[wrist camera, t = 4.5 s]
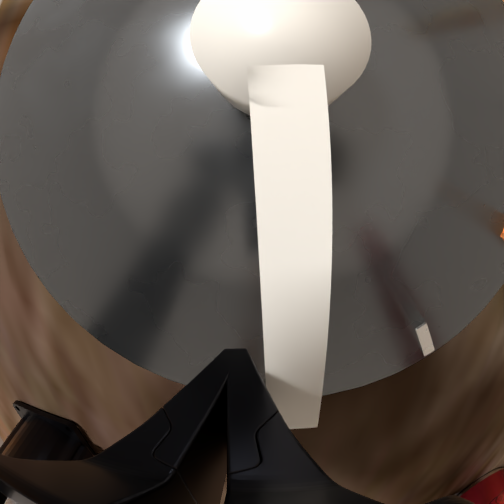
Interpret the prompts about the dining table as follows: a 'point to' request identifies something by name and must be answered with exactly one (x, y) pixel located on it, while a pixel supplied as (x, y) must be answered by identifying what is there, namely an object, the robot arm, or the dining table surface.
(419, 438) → the dining table surface
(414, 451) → the dining table surface
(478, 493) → the soda can
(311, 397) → the dial pointer
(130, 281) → the dial face
